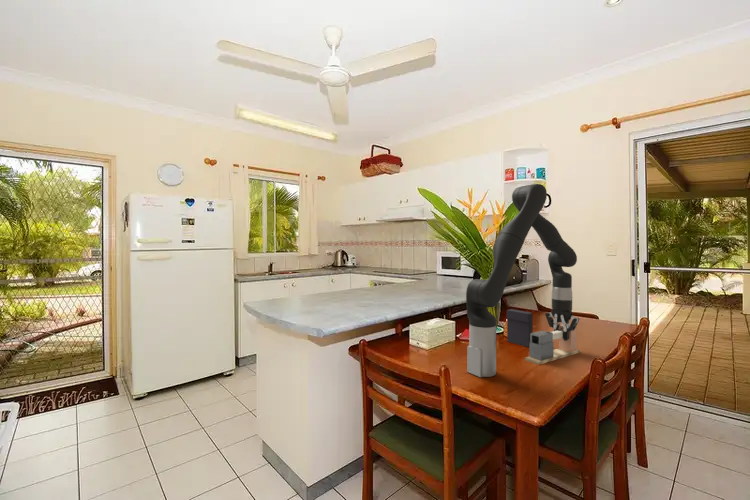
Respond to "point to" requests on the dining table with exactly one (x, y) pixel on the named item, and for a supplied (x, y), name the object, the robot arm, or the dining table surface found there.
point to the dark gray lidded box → (519, 327)
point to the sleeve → (541, 345)
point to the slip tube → (558, 334)
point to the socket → (568, 341)
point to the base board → (557, 355)
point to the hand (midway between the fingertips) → (561, 339)
